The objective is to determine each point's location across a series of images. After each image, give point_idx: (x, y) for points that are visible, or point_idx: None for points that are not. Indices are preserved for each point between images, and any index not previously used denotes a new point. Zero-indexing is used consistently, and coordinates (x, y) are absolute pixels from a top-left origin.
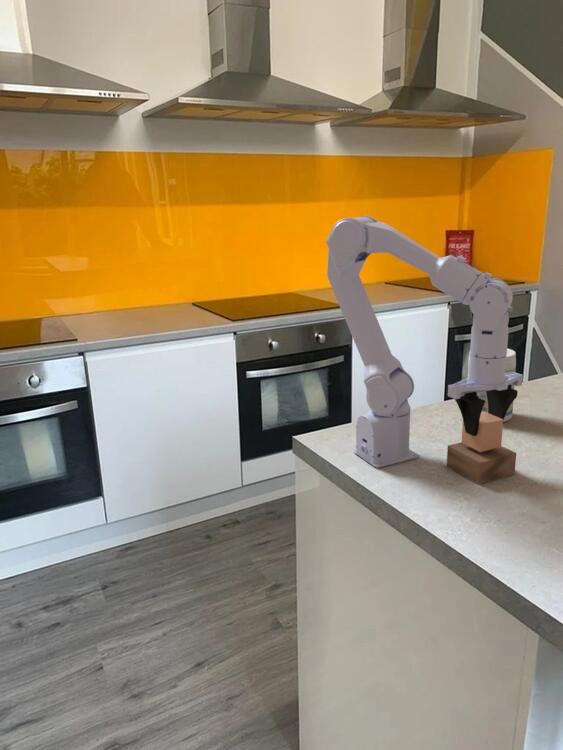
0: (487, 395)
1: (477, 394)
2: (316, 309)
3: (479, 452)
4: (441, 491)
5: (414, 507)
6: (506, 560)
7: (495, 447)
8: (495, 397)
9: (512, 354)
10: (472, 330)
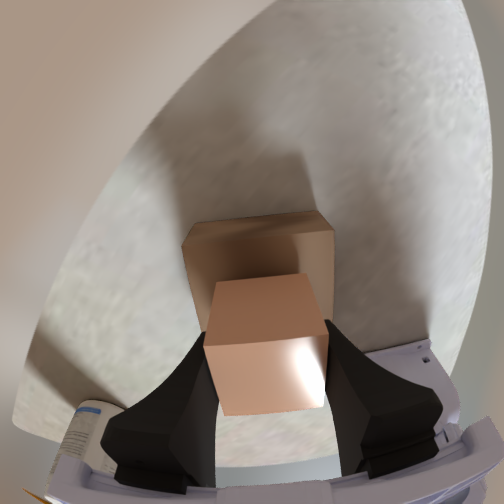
0: (214, 466)
1: None
2: None
3: None
4: (407, 218)
5: (474, 189)
6: None
7: (241, 280)
8: (203, 450)
9: (50, 498)
10: None
